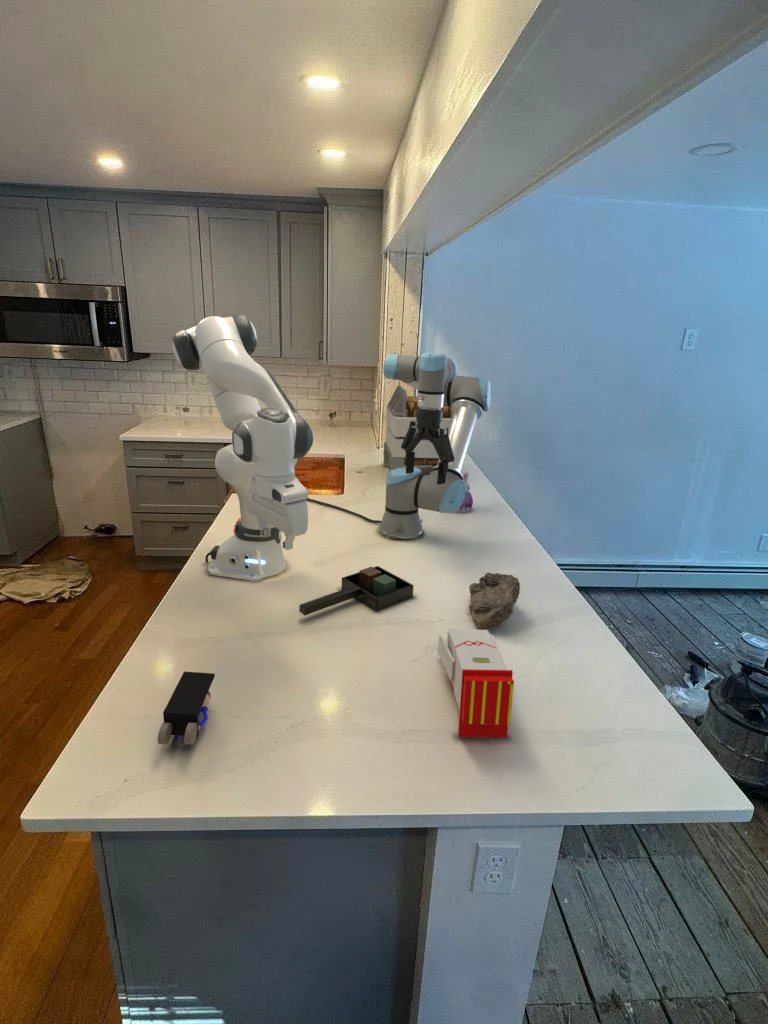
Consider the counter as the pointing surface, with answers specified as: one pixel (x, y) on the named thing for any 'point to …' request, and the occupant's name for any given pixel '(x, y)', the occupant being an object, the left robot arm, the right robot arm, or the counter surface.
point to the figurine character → (186, 708)
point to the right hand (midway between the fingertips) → (424, 478)
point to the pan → (360, 594)
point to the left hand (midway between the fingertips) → (276, 542)
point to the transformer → (398, 422)
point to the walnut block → (368, 578)
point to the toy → (478, 682)
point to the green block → (383, 585)
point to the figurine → (466, 498)
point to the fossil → (493, 599)
